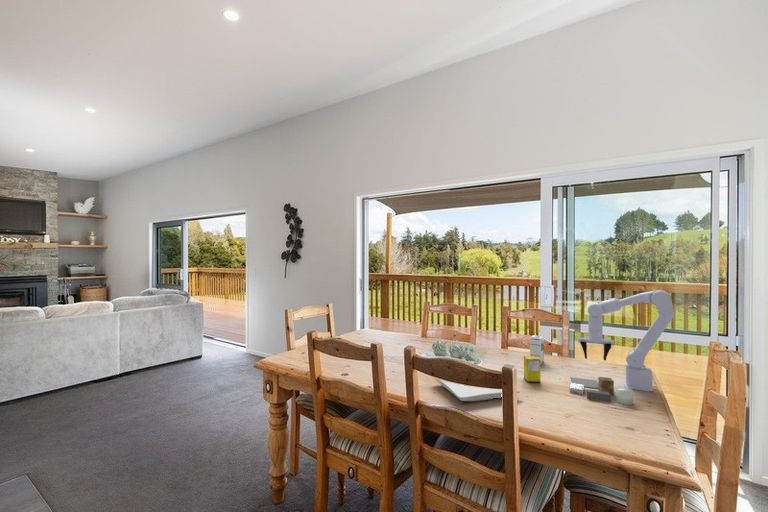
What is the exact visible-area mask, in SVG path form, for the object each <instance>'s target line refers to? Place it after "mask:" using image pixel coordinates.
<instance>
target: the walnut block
mask: <svg viewBox="0 0 768 512" xmlns="http://www.w3.org/2000/svg"><path fill="white" fill-rule="evenodd" d="M597 379H598V380H597V382H598V389H597V391H603V392H609V394H610V396H615V387H614V384H615V382H614V379H612V378H611V377H608V376H607V377H605V376H598V378H597Z"/></svg>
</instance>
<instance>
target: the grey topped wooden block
mask: <svg viewBox="0 0 768 512" xmlns="http://www.w3.org/2000/svg"><path fill="white" fill-rule="evenodd" d="M584 391H585V387H584V385H582V384H576V383H571V382H570V385H569V393H571V394H577V395H584Z"/></svg>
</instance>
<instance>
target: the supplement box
mask: <svg viewBox="0 0 768 512" xmlns="http://www.w3.org/2000/svg"><path fill="white" fill-rule="evenodd" d="M523 380H525V382H526V383H528V384H530V383H531V384H534V383H535V384H541V380H542V379H541V365H540V359H539V358H538V357H537V356H530V355H523Z"/></svg>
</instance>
